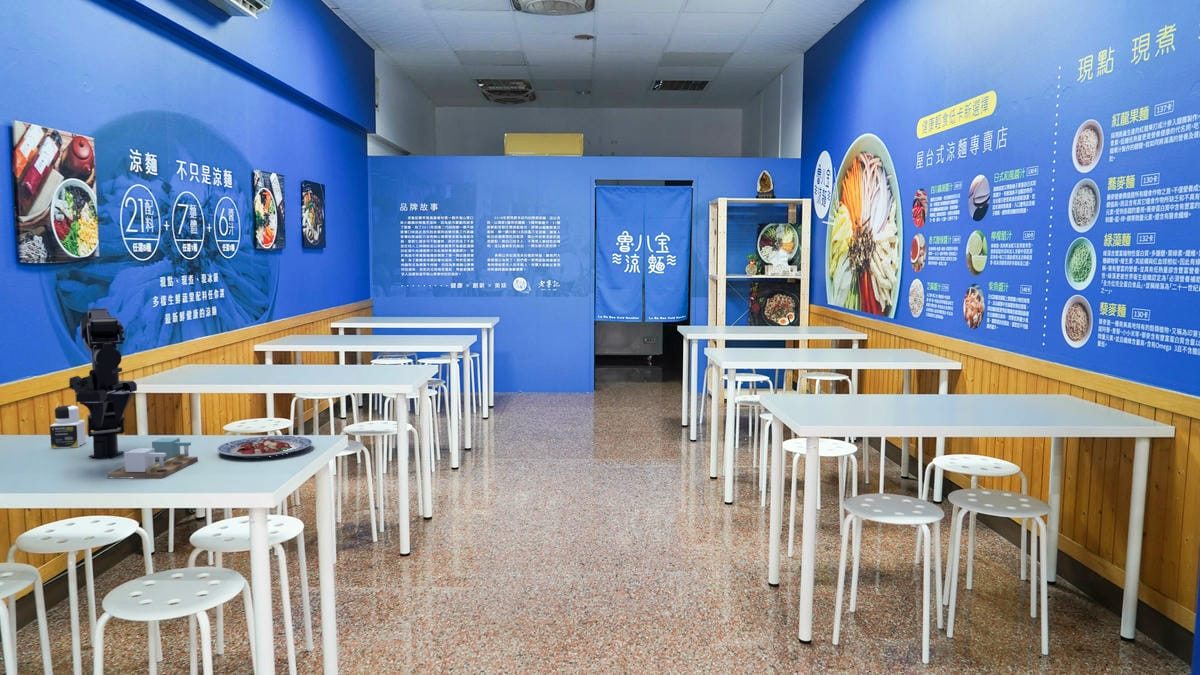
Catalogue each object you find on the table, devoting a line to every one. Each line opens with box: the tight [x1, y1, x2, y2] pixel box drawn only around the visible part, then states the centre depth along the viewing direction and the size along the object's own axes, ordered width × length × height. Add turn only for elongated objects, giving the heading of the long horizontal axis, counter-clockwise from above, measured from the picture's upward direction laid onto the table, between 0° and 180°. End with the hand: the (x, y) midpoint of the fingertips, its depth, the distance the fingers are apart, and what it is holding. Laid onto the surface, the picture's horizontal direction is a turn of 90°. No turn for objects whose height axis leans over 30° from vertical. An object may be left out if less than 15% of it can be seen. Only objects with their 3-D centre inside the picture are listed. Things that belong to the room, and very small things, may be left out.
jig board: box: [106, 452, 199, 479], centre depth 226 cm, size 19×14×2 cm
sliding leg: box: [151, 437, 192, 460], centre depth 232 cm, size 5×9×5 cm, turn 89°
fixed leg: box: [124, 447, 166, 472], centre depth 220 cm, size 5×9×5 cm, turn 89°
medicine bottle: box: [49, 404, 87, 449], centre depth 255 cm, size 7×7×12 cm
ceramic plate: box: [216, 435, 313, 459], centre depth 247 cm, size 26×26×3 cm
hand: (109, 423), depth 228 cm, fingers open, 9 cm apart
